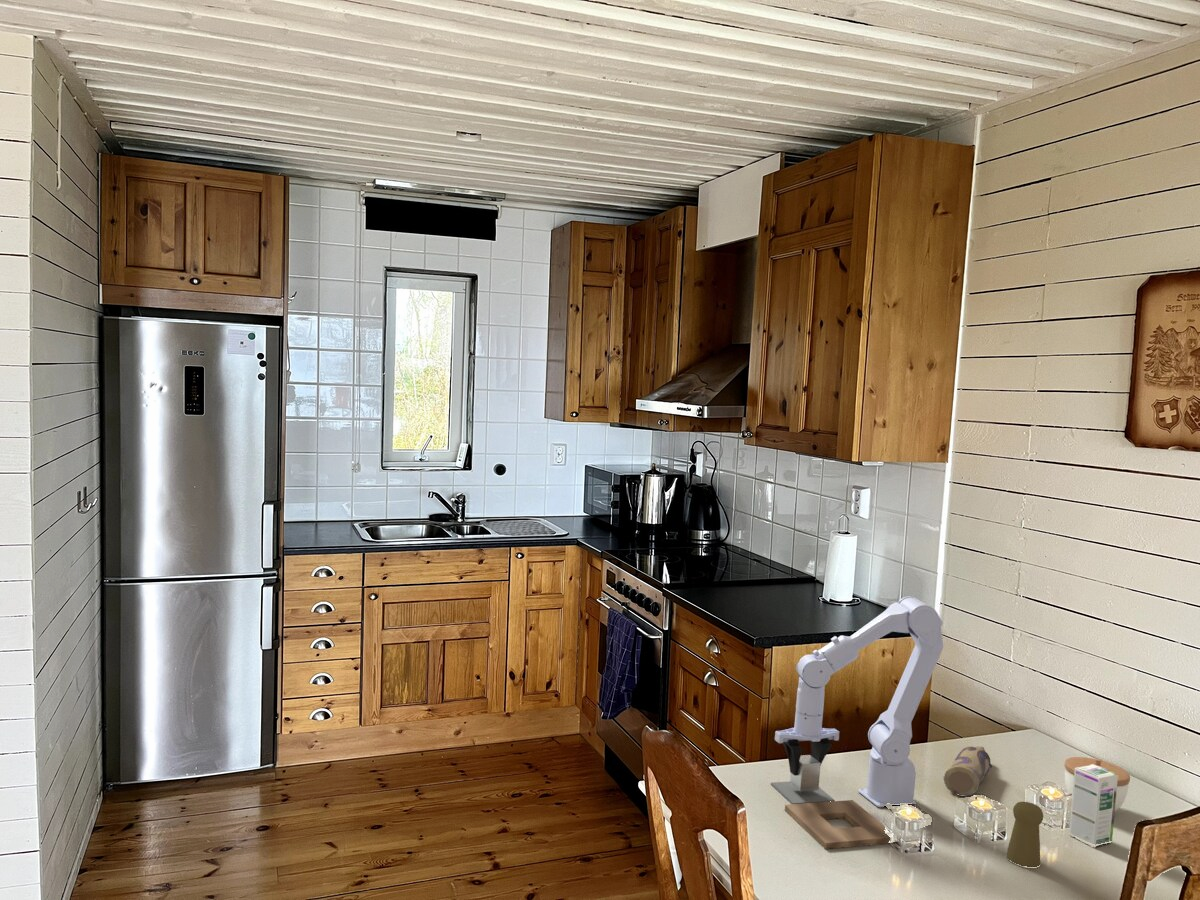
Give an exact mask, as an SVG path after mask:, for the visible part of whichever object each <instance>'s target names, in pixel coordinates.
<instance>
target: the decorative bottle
mask: <svg viewBox="0 0 1200 900" xmlns="http://www.w3.org/2000/svg"><path fill="white" fill-rule="evenodd" d="M992 767H993V765H992V764H991V757H990V755H989V753H987V752H986V749H985V748H984V746H982V745H981V746H980V745H979V746H973V745H972V746H966V747H964V748H962V749H961V750H960V752H959V753H958V754H957V756H956V757H955V759H954V761H952V763H951V765H950V766H949V767H948V768H947V770H945V771H944V775H943V781H944V782H943V783H944V785H945V787H946V789H947V790H948V791H950V793H952V794H953V795H955V796H959V795H969V796H971V795H974V794H975V793H976V792H977V791H978V789H979V785H980V784H981V782H982V780H983V779H984V777H986V776H987V775H988V773H989V772H990V771H991V769H992ZM957 794H959V795H957Z"/></svg>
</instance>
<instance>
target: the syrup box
mask: <svg viewBox="0 0 1200 900" xmlns="http://www.w3.org/2000/svg"><path fill="white" fill-rule="evenodd" d="M1117 780H1118V775H1117V774H1116V773H1114V772H1112V771H1110V770H1107V769H1105V768H1102V767H1100V766H1096V765H1093V764H1092V765H1089V766H1084V767H1079V768H1078V767H1077V768H1075V772H1074V783H1073V794H1072V800H1071V808H1070V819H1069V830H1068V834H1069V833H1071V834H1073V835H1074V836H1077V837H1079V838H1081V839H1083V840H1085V841H1087V842H1090V843H1092V844H1095V845H1096V844H1101V843H1105V842H1109V841H1112V842H1113V836H1114V835H1113V834H1114V821H1115V813H1116V812H1115V803H1116V791H1117Z"/></svg>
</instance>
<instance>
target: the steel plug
mask: <svg viewBox="0 0 1200 900" xmlns="http://www.w3.org/2000/svg"><path fill="white" fill-rule="evenodd" d="M820 765H821V766H822V764H821V763H820V762H819V761H817V760H816V759H815V758H814V757H812V756H811V754H805V755H804V754H803V755H802V754H801V756H800V760H799V770H798V774H797V775H796V776H795V775H793V774H792V773H791V772H790V779H789V780H790V781H789V782H790V783H791V784H792V785H793V786H794V787H795V788H797V789H798V790H799V791H800V792H801V791H816V790H818V789H819V787H820V778H821V777H820V775H821V766H820Z"/></svg>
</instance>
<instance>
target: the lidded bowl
mask: <svg viewBox="0 0 1200 900" xmlns="http://www.w3.org/2000/svg"><path fill="white" fill-rule="evenodd" d="M1092 764H1093V765H1096V766H1100V767H1102V768H1105V769H1107V770H1110V771H1112V772H1114V773H1116V774H1117V775H1118V780H1117V791H1116V803H1115V811H1117V810H1119V809H1120V808H1121V807H1122V806H1123V804H1124V803H1125V801H1126V799H1127V795H1128V791H1129V785H1130V781H1131V776H1130V774H1129V772H1127V770H1125V769H1124V768H1122V767H1120V766H1118V765H1116V764H1114V763H1111V762H1108V761H1105V760H1101V759H1099V758H1092V757H1085V756H1074V757H1072V756H1071V757H1069V758H1066V760H1065V761H1064V773H1063V774H1064V777H1063V778H1064V787H1065V791H1066V793H1067V794H1068V793H1072V794H1073V783H1074V772H1075V768H1077V767H1078V768H1079V767H1084V766H1089V765H1092Z"/></svg>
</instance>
